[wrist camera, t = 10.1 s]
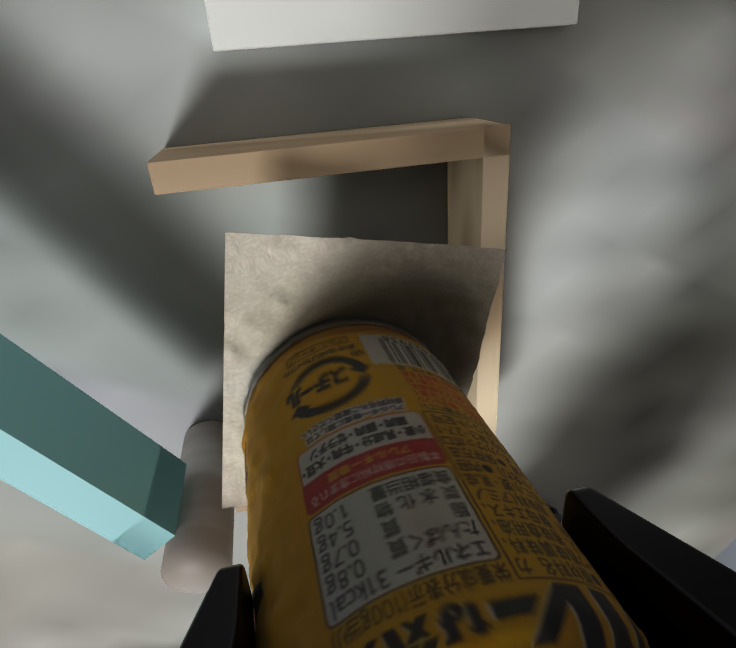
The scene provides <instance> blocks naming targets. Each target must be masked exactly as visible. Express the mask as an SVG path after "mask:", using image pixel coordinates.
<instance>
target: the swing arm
mask: <svg viewBox="0 0 736 648" xmlns="http://www.w3.org/2000/svg"><path fill="white" fill-rule="evenodd" d="M186 465H187V464H186V463H184V462H183V461H182V460H180V459H179V458H177V457H176V456H174V455H173V454H172V453H170V452H169V451H167V450H166V449H164V448H163V447H162V446H160V445H159V444H157V443H156V442H154V441H153V440H152V439H150V438H149V437H147V436H146V435H144V434H143V433H141V432H140V431H139V430H137V429H136V428H134V427H133V426H131V425H130V424H129V423H127V422H126V421H124V420H123V419H121V418H120V417H119V416H117V415H116V414H114V413H113V412H111V411H110V410H109V409H107V408H106V407H104V406H103V405H101V404H100V403H99V402H97V401H96V400H94V399H93V398H91V397H90V396H89V395H87V394H86V393H84V392H83V391H81V390H80V389H79V388H77V387H76V386H74V385H73V384H71V383H70V382H69V381H67V380H66V379H64V378H63V377H61V376H60V375H59V374H57V373H56V372H54V371H53V370H51V369H50V368H49V367H47V366H46V365H44V364H43V363H41V362H40V361H39V360H37V359H36V358H34V357H33V356H31V355H30V354H29V353H27V352H26V351H24V350H23V349H21V348H20V347H19V346H17V345H16V344H14V343H13V342H11V341H10V340H9V339H7V338H6V337H4V336H3V335H1V334H0V479H1V480H3V481H4V482H6V483H8V484H10V485H11V486H13V487H15V488H17V489H19V490H20V491H22V492H24V493H26V494H28V495H29V496H31V497H33V498H35V499H36V500H38V501H40V502H42V503H44V504H45V505H47V506H49V507H51V508H53V509H54V510H56V511H58V512H60V513H61V514H63V515H65V516H67V517H69V518H70V519H72V520H74V521H76V522H78V523H79V524H81V525H83V526H85V527H86V528H88V529H90V530H92V531H94V532H95V533H97V534H99V535H101V536H103V537H104V538H106V539H108V540H110V541H111V542H113V543H115V544H117V545H119V546H120V547H122V548H124V549H126V550H128V551H129V552H131V553H133V554H135V555H137V556H138V557H140V558H142V559H144V560H145V559H146V558H147V557H149V556H150V555H151V554H152V553H154V552H155V551H156V550H158V549H159V548H160V547H161V546H163V545H164V544H165V543H167V542H168V541H169V540H170V539H172V538H173V537H174V536H175V534H176V528H177V522H178V515H179V509H180V503H181V497H182V490H183V484H184V478H185V472H186Z"/></svg>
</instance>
